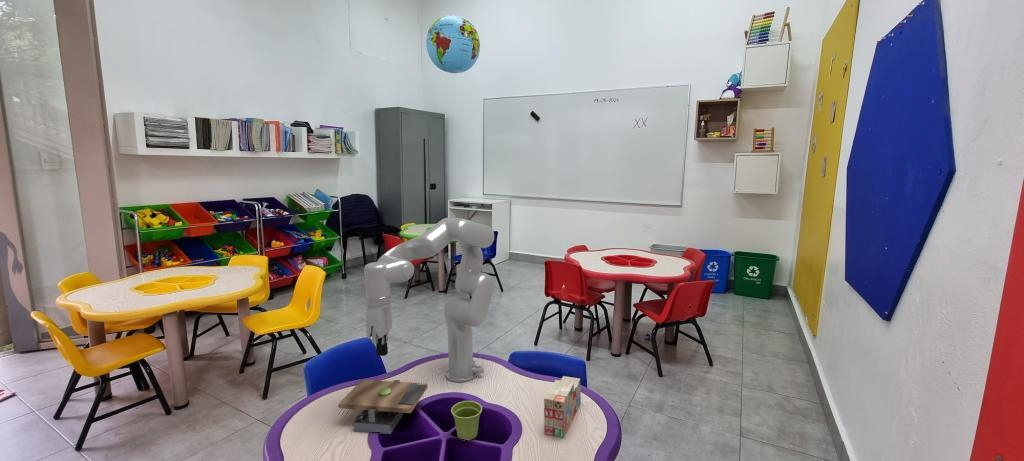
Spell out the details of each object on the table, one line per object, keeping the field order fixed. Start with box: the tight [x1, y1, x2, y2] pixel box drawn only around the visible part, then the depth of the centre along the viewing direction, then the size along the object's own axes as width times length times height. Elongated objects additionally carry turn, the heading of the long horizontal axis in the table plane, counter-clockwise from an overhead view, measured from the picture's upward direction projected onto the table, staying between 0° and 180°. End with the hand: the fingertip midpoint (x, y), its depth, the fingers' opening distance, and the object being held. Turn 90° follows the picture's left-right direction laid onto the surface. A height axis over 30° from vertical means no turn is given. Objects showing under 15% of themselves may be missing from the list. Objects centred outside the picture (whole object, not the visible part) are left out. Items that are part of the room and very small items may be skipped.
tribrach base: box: [353, 379, 404, 435], centre depth 149 cm, size 12×21×7 cm, turn 172°
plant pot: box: [450, 400, 483, 441], centre depth 137 cm, size 9×9×9 cm
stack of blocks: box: [543, 375, 582, 439], centre depth 145 cm, size 21×6×12 cm, turn 157°
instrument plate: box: [338, 379, 429, 414], centre depth 149 cm, size 24×16×4 cm, turn 82°
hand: (382, 354), depth 147 cm, fingers closed
